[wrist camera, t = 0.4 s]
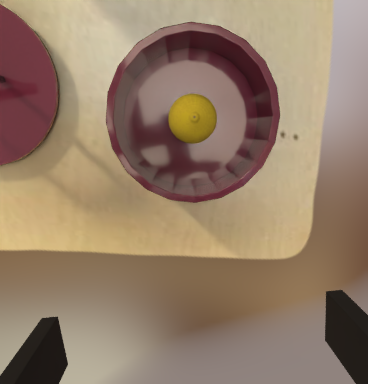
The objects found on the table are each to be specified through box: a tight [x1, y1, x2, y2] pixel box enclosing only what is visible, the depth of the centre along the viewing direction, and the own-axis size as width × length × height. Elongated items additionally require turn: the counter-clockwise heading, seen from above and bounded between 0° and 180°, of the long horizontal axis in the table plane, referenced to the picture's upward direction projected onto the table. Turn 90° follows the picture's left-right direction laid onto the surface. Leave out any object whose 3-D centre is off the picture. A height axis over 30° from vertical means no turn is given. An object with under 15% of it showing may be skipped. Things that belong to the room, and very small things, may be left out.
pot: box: [106, 22, 280, 203], centre depth 33 cm, size 19×19×6 cm
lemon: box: [168, 94, 217, 144], centre depth 32 cm, size 6×6×8 cm
